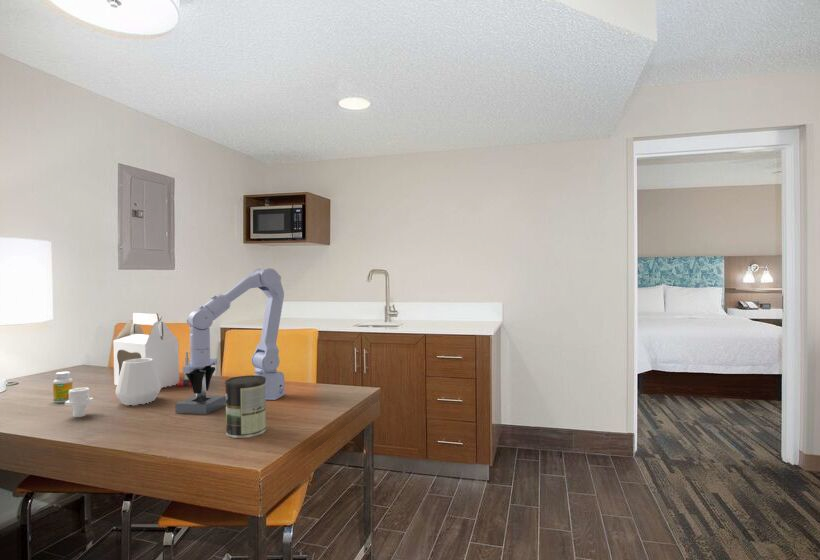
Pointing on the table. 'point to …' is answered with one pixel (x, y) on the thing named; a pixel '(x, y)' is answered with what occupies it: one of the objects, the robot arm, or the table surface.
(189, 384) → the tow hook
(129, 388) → the cup
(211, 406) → the clevis block
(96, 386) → the table surface
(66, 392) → the supplement bottle
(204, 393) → the pin
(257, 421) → the coffee can
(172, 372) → the gable box
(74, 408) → the pipe fitting
